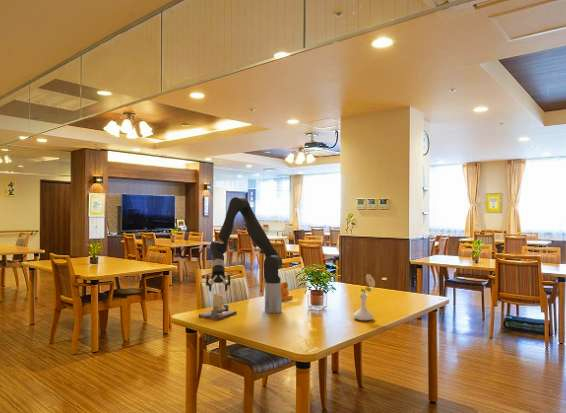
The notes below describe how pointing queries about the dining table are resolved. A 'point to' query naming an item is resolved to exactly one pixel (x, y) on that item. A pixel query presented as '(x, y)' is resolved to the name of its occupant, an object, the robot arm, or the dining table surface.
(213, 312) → the driven shaft
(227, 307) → the drive shaft
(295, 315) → the dining table surface
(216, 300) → the coupler
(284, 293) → the bracket
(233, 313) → the coupling base
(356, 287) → the dining table surface
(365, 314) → the flower in vase
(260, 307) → the dining table surface
